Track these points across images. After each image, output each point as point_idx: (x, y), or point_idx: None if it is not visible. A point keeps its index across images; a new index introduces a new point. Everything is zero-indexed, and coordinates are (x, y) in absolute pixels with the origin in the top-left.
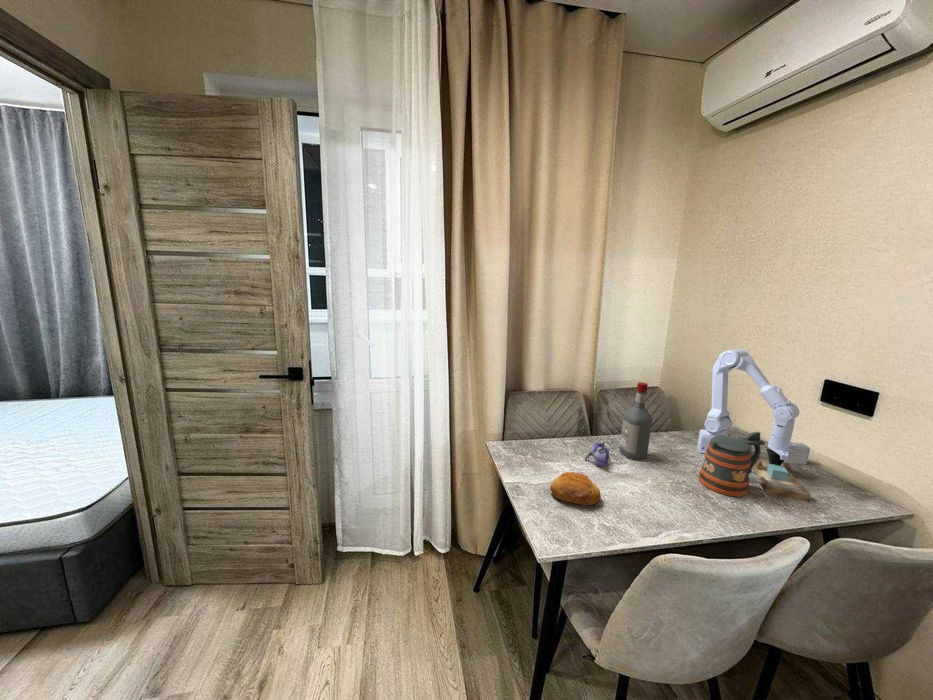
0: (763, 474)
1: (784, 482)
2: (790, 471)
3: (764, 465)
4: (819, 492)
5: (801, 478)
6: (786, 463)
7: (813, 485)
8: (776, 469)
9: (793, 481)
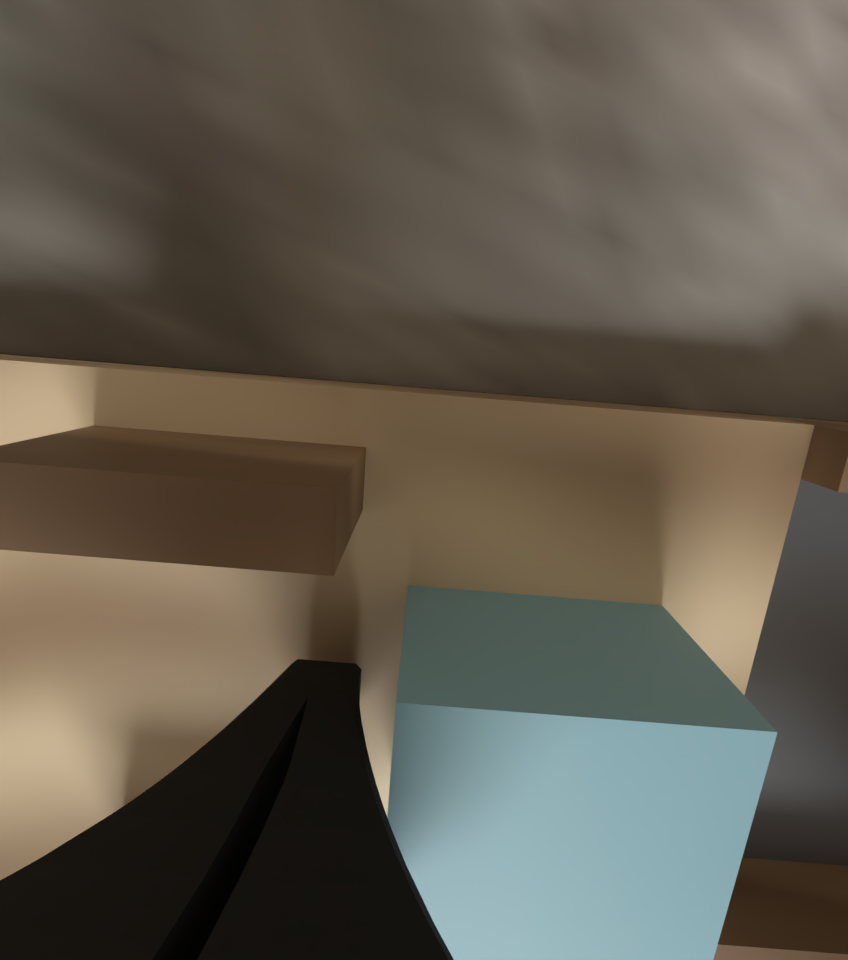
0: None
1: (705, 651)
2: (355, 474)
3: (110, 722)
4: (722, 88)
5: (222, 178)
6: (53, 500)
7: (451, 67)
8: (664, 918)
9: (614, 483)
